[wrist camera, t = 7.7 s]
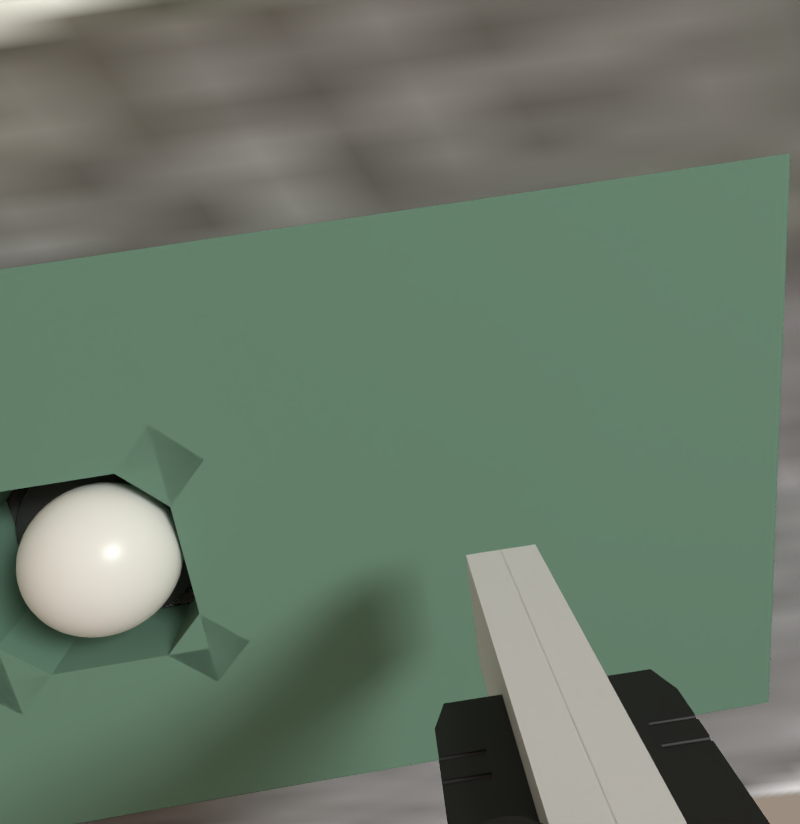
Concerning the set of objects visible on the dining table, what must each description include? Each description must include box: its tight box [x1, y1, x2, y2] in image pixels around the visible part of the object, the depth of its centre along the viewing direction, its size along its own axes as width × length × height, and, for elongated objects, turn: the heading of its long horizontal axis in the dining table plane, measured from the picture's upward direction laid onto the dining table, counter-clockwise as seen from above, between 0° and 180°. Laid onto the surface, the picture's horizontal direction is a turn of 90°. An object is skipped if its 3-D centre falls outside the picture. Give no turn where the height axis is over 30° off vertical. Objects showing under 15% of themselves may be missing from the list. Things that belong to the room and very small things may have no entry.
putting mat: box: [0, 154, 790, 824], centre depth 18 cm, size 26×16×2 cm, turn 98°
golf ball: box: [16, 482, 183, 638], centre depth 17 cm, size 4×4×4 cm
